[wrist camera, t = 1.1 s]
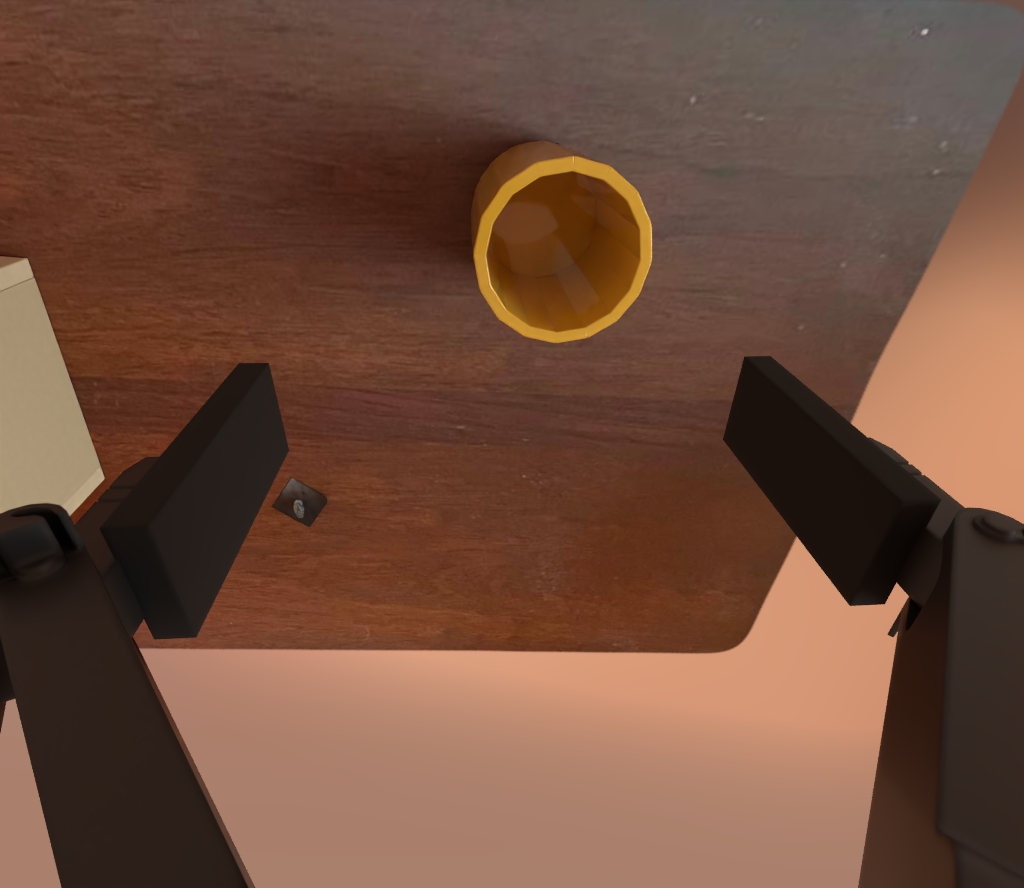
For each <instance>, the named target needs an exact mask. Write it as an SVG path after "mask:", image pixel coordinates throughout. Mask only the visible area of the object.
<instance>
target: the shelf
mask: <svg viewBox="0 0 1024 888" xmlns="http://www.w3.org/2000/svg"><path fill="white" fill-rule="evenodd" d="M33 277H34V276H33V273H32V270H31V267H30V264H29V261H28V259H27V258H17V257H5V256H0V514H1V513H3V512H5V511H8V510H10V509H14V508H18V507H21V506H25V505H29V504H39V503H51V504H57V505H60V506H62V507H63V508H64V509H65V510H67V512H68V514H69V516H70V515H71V514H72V513H73V512H74V511H75V510H76V509H77V508H78V507H79V506H80V505H81V503H82V502H83V501H84V500H85V499H86V498H87V497H88V496H89V495H90V494H91V493H92V492H93V491H94V490H95V489H96V487H97V486H98V485H99V484H100V483H101V482H102V481H103V480H104V475H103V472H102V469H101V467H100V463H99V460H98V457H97V455H96V452H95V449H94V446H93V443H92V440H91V437H90V435H89V432H88V429H87V426H86V423H85V420H84V417H83V415H82V412H81V409H80V406H79V403H78V400H77V397H76V395H75V392H74V389H73V386H72V383H71V380H70V377H69V375H68V372H67V369H66V366H65V363H64V360H63V357H62V355H61V352H60V349H59V346H58V343H57V340H56V337H55V335H54V332H53V329H52V326H51V323H50V320H49V317H48V315H47V312H46V309H45V306H44V303H43V300H42V297H41V295H40V292H39V289H38V286H37V283H36V280H35V278H33Z"/></svg>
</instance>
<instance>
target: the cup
mask: <svg viewBox="0 0 1024 888" xmlns="http://www.w3.org/2000/svg"><path fill="white" fill-rule="evenodd" d="M470 215H471V217H470V218H471V232H472V245H473V257H474V263H475V268H476V274H477V280H478V285H479V289H480V291H481V293H482V295H483V296H484V298H485V299H486V301H487V302H488V304H489V306H490V307H491V309H492V310H493V312H494V313H495V315H496V317H498V319H500V320H501V321H502V322H504V323H505V324H507V325H508V326H510V327H511V328H513V329H514V330H515V331H517V332H518V333H520V334H521V335H523V336H525V337H529V338H534V339H538V340H543V341H548V342H552V343H555V342H556V343H559V342H565V341H571V340H577V339H583V338H587V337H590V336H592V335H593V334H595V333H597V332H599V331H600V330H602V329H604V328H606V327H607V326H609V325H611V324H612V323H614V322H616V320H618V319H619V318H620V317H621V316H622V314H623V313H624V312H625V311H626V310H627V308H628V307H629V306H630V305H631V304H632V303H633V301H634V300H635V299H636V298H637V297H638V295H639V294H640V292H641V289H642V286H643V284H644V281H645V278H646V275H647V273H648V270H649V267H650V265H651V260H652V225H651V221H650V219H649V216H648V214H647V212H646V209H645V207H644V205H643V202H642V200H641V198H640V195H639V193H638V191H637V190H636V189H635V188H634V187H633V186H632V185H631V184H630V183H629V182H628V181H626V180H625V179H624V178H623V177H622V176H621V175H620V174H619V173H618V172H616V171H615V170H614V169H613V168H612V167H610V166H609V165H607V164H604V163H602V162H600V161H598V160H596V159H594V158H591V157H589V156H587V155H585V154H583V153H581V152H578V151H576V150H574V149H572V148H569V147H566V146H562V145H559V144H557V143H552V142H549V141H534V142H527V143H523V144H520V145H517V146H515V147H512V148H510V149H509V150H507V151H505V152H503V153H502V154H501V155H500V156H498V157H497V158H496V159H495V160H494V161H493V162H492V163H491V164H490V165H489V166H488V168H487V169H486V170H485V172H484V173H483V175H482V177H481V179H480V180H479V182H478V184H477V186H476V189H475V193H474V197H473V202H472V209H471V214H470Z"/></svg>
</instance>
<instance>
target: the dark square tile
mask: <svg viewBox="0 0 1024 888" xmlns="http://www.w3.org/2000/svg"><path fill="white" fill-rule="evenodd" d="M326 503H327V498H326V497H325V496H323V495H321V494H320V493H318V492H316V491H314V490H312V489H311V488H309V487H307V486H305V485H303V484H302V483H300V482H298V481H296V480H295V479H293V478H291V479H290V481H289V483H288V484H287V486H286V487H285V489H284V490H283V492H282V493H281V495H280V496H279V498H278V499H277V501H276V502H275V504H274V506H273V508H275V509H277V510H278V511H280V512H282V513H285V514H286V515H288V516H290V517H291V518H293V519H295V520H297V521H299V522H301V523H303V524H304V525H306V526H308V527H310V525H311V524H312V523H313V522H314V520H315V519H316V517H317V516H318V514H319V513H320V512H321V510H322V509H323V507H324V506H325V505H326Z"/></svg>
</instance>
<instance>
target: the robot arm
mask: <svg viewBox="0 0 1024 888" xmlns="http://www.w3.org/2000/svg"><path fill="white" fill-rule="evenodd" d="M723 440H724V441H725V443H726V444H727V445H728V447H729V448H730V449H731V450H732V452H733V453H734V454H735V456H736V457H737V458H738V460H739V461H740V462H741V464H742V465H743V466H744V468H745V469H746V470H747V471H748V473H749V474H750V475H751V477H752V478H753V479H754V481H755V482H756V483H757V485H758V486H759V487H760V489H761V490H762V491H763V492H764V494H765V495H766V496H767V498H768V499H769V500H770V502H771V503H772V504H773V506H774V507H775V508H776V510H777V511H778V512H779V513H780V515H781V516H782V517H783V519H784V520H785V521H786V523H787V524H788V525H789V527H790V528H791V529H792V531H793V532H794V533H795V534H796V536H797V537H798V538H799V540H800V541H801V542H802V543H803V545H804V546H805V547H806V549H807V550H808V551H809V553H810V554H811V555H812V557H813V558H814V559H815V561H816V562H817V563H818V565H819V566H820V567H821V569H822V570H823V571H824V572H825V574H826V575H827V576H828V578H829V579H830V580H831V582H832V583H833V584H834V586H835V587H836V588H837V590H838V591H839V592H840V593H841V595H842V596H843V597H844V599H845V600H846V601H847V603H848V604H849V605H850V606H855V605H877V604H885V603H886V601H887V599H888V597H889V595H890V593H891V592H892V590H893V588H894V586H895V584H896V582H897V583H898V584H899V585H900V587H901V588H902V589H903V590H904V591H905V592H906V593H907V594H908V596H909V598H908V599H907V601H906V603H905V605H904V606H903V608H902V610H901V612H900V613H899V615H898V617H897V619H896V620H895V622H894V624H893V626H892V628H891V629H890V631H889V633H888V635H889V636H892V637H894V636H895V634H896V633H897V632H898V636H897V643H896V649H895V655H894V662H893V668H892V675H891V681H890V687H889V694H888V700H887V706H886V713H885V719H884V726H883V732H882V738H881V745H880V751H879V757H878V764H877V770H876V777H875V783H874V789H873V796H872V802H871V809H870V815H869V821H868V828H867V834H866V841H865V847H864V854H863V860H862V866H861V873H860V879H859V886H858V888H1024V524H1022V523H1020V522H1019V521H1017V520H1015V519H1013V518H1011V517H1009V516H1006V515H1003V514H1001V513H998V512H995V511H990V510H986V509H982V508H964V507H963V506H962V505H961V504H959V503H958V502H957V501H955V500H954V499H953V498H952V497H951V496H950V495H948V494H947V493H946V492H945V491H943V490H942V489H941V488H940V487H939V486H937V485H936V484H935V483H934V482H932V481H931V480H930V479H929V478H928V477H926V476H925V475H921V472H920V471H919V470H918V469H916V468H915V467H914V466H913V465H909V464H908V461H907V460H906V459H904V458H903V457H902V456H901V455H899V454H898V453H897V452H896V451H894V450H893V449H892V448H889V447H888V446H886V445H884V444H882V443H880V442H878V441H876V440H874V439H872V438H867V437H866V436H865V435H864V434H863V433H861V432H860V431H859V430H858V429H857V428H855V427H854V426H853V425H852V424H851V423H849V422H848V421H847V420H846V419H845V418H843V417H842V416H841V415H840V414H839V413H838V412H836V411H835V410H834V409H833V408H832V407H830V406H829V405H828V404H827V403H826V402H824V401H823V400H822V399H821V398H820V397H818V396H817V395H816V394H815V393H814V392H812V391H811V390H810V389H809V388H808V387H807V386H805V385H804V384H803V383H802V382H801V381H799V380H798V379H797V378H796V377H795V376H793V375H792V374H791V373H790V372H789V371H787V370H786V369H785V368H784V367H783V366H781V365H780V364H779V363H778V362H777V361H776V360H774V359H773V358H772V357H771V356H755V357H744V361H743V364H742V368H741V372H740V376H739V380H738V384H737V388H736V391H735V395H734V399H733V403H732V407H731V411H730V415H729V418H728V422H727V426H726V430H725V434H724V438H723ZM288 451H289V448H288V444H287V440H286V435H285V431H284V427H283V422H282V418H281V414H280V410H279V405H278V401H277V397H276V393H275V388H274V384H273V380H272V375H271V371H270V367H269V363H239V364H238V365H237V366H236V368H235V369H234V370H233V371H232V372H231V373H230V375H229V376H228V377H227V378H226V379H225V380H224V382H223V383H222V384H221V385H220V386H219V388H218V389H217V390H216V391H215V392H214V393H213V395H212V396H211V397H210V398H209V399H208V401H207V402H206V403H205V404H204V405H203V406H202V408H201V409H200V410H199V411H198V412H197V414H196V415H195V416H194V417H193V418H192V419H191V421H190V422H189V423H188V424H187V425H186V426H185V428H184V429H183V430H182V431H181V432H180V434H179V435H178V436H177V437H176V438H175V439H174V441H173V442H172V443H171V444H170V445H169V447H168V448H167V449H166V450H165V451H164V452H163V454H162V455H161V456H160V457H146V458H144V459H142V460H141V461H139V462H138V463H136V464H134V465H133V466H131V467H129V468H128V469H126V470H125V471H123V472H122V474H121V475H120V476H119V477H118V478H117V479H116V480H115V481H114V482H113V483H112V485H111V486H110V489H107V490H106V491H105V492H104V493H103V494H102V496H101V497H100V498H99V499H98V500H99V501H98V502H95V503H94V504H93V505H92V506H91V508H90V509H89V510H88V511H87V512H86V513H85V514H84V515H83V516H82V517H81V519H80V520H79V521H78V522H77V523H76V524H75V525H74V524H73V522H72V520H71V518H70V516H69V514H68V512H67V510H65V509H64V508H63V507H62V506H60V505H57V504H51V503H39V504H29V505H25V506H21V507H18V508H14V509H10V510H8V511H5V512H3V513H1V514H0V732H1V727H2V721H3V716H4V710H5V705H6V701H8V700H12V699H16V703H17V707H18V711H19V715H20V720H21V724H22V728H23V731H24V736H25V740H26V744H27V748H28V752H29V756H30V760H31V765H32V769H33V773H34V777H35V781H36V785H37V789H38V793H39V797H40V801H41V805H42V810H43V814H44V818H45V822H46V826H47V830H48V834H49V838H50V842H51V846H52V850H53V855H54V859H55V862H56V866H57V871H58V875H59V879H60V883H61V887H62V888H255V886H254V884H253V882H252V880H251V878H250V876H249V874H248V872H247V870H246V868H245V866H244V864H243V862H242V860H241V858H240V855H239V854H238V852H237V849H236V847H235V845H234V843H233V841H232V839H231V837H230V835H229V833H228V831H227V829H226V827H225V825H224V823H223V821H222V818H221V816H220V814H219V812H218V810H217V808H216V806H215V804H214V802H213V800H212V798H211V796H210V794H209V792H208V790H207V788H206V786H205V783H204V781H203V779H202V777H201V775H200V773H199V771H198V769H197V767H196V765H195V763H194V761H193V759H192V757H191V755H190V753H189V751H188V748H187V747H186V744H185V742H184V740H183V738H182V736H181V734H180V732H179V730H178V728H177V726H176V724H175V722H174V720H173V718H172V716H171V714H170V711H169V709H168V707H167V705H166V703H165V701H164V699H163V697H162V695H161V693H160V691H159V689H158V687H157V685H156V683H155V681H154V679H153V676H152V674H151V672H150V670H149V668H148V666H147V664H146V662H145V660H144V658H143V656H142V654H141V652H140V650H139V648H138V646H137V644H136V642H135V640H134V638H133V636H134V634H135V632H136V631H137V629H138V627H139V626H140V624H141V622H142V621H143V619H144V620H145V622H146V624H147V626H148V628H149V630H150V632H151V634H152V636H153V638H154V639H172V638H192V637H197V635H198V633H199V631H200V629H201V626H202V624H203V622H204V620H205V618H206V616H207V614H208V612H209V610H210V608H211V606H212V604H213V602H214V600H215V598H216V596H217V594H218V592H219V590H220V588H221V586H222V584H223V582H224V580H225V578H226V576H227V574H228V572H229V570H230V568H231V566H232V564H233V562H234V560H235V558H236V556H237V554H238V552H239V550H240V548H241V546H242V544H243V542H244V540H245V538H246V536H247V534H248V532H249V530H250V528H251V526H252V524H253V522H254V520H255V518H256V516H257V514H258V512H259V510H260V508H261V506H262V504H263V502H264V500H265V497H266V495H267V493H268V491H269V489H270V487H271V485H272V483H273V481H274V479H275V477H276V475H277V473H278V471H279V469H280V467H281V465H282V463H283V461H284V459H285V457H286V455H287V453H288Z"/></svg>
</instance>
